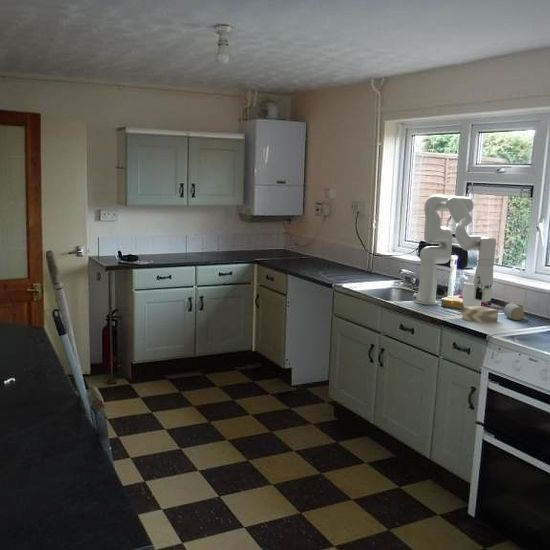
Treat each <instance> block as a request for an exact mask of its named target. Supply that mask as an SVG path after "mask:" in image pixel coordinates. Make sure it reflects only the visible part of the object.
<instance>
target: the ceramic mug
mask: <svg viewBox="0 0 550 550" xmlns="http://www.w3.org/2000/svg"><path fill="white" fill-rule="evenodd" d="M503 313H504V315H505V316H506V318H509V319H511V320H513V321H520V320H522V319H523V320H525V321H527V319H528V317H527V316H526V315H525V310H524V309H523V308H522V307H521V306H520V305H517V304H516V303H514V302H510V303H507V304H506V305H505V306H504V308H503Z"/></svg>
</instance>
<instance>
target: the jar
mask: <svg viewBox="0 0 550 550" xmlns="http://www.w3.org/2000/svg"><path fill="white" fill-rule="evenodd" d="M480 285H481V284H480ZM474 288H475V286H474V281H464V282H463V289H462V305H463V307H468V306H476V305H478V306H482V301H478V300H473V297H474Z"/></svg>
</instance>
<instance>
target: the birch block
mask: <svg viewBox="0 0 550 550" xmlns="http://www.w3.org/2000/svg"><path fill="white" fill-rule="evenodd" d="M498 318H499V309H495V308H490V307H487V306H482V305H480V306H478V305H476V306H468V307H464V306H463V307H462V315H461V319H464V320H467V321H472V322H475V323H478V324H479V323H480V324H488V323H489V324H490V323H496V322H498Z"/></svg>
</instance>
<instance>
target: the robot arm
mask: <svg viewBox="0 0 550 550" xmlns="http://www.w3.org/2000/svg"><path fill="white" fill-rule="evenodd" d="M423 208H424V210H423V211H424V216H425V217H424V218H425V219H424V231H423V236H424V237H423V239H424V242H425V243H427V244H430V246H425V247H423V248H422V249H421V250H420V253H419V260H420V273H419V283H418V292H417V293H416V292H414V293H413V294H412V297H414V298H415V299H414V302H415V303H417V304H420V305H427V306H428V305H429V306H436V305H438V304H439V301H438V300H436V298H437V287H438V278H439V277H438V276H439V271H438V268H437V265H436V264H446V263H449V261H450V260H451V258H452V248H453V232H452V230H451V229H450V228H449V227H447V226H442V217H441V215H440V213H439V211H440V212H449V215H450V216H451V217H452V218H451V219H452V220H453V222H454V223H455V225H456V226H455V229H454V236H455V239H456V241H457V243H458V245H459V246H460V248H461V249H462V250H464V251H473V252H474V251H476V252H478V257H477V265H476V269H475V272H474V279H473V282H474V286H475V289H476V290H475V291H476V296H475V299H478V300H482V292H481V291H482V288H483V287H485V288H490V289H492V286H493V284H494V282H493V281H494V265H495V257H496V256H495V255H496V246H497V240H496V238H494V237H487V236H484V235H472V234H471V235H469V234H468V232H467V230H466V229H465V228H466V227H468V226H469V225H470V224H471V223H472V221H473V216H472V214H471V212H472V211H473V210H474V202H473V200H472V199H471V198H470V197H468V196H460V195H459V196H458V195H450V194H449V195H447V194H433V195H430V196H428V198H427V199H426V200H425V202H424V207H423ZM431 244H433V245H431ZM434 245H435V246H434ZM436 245H437V246H436ZM480 284H481V285H480Z"/></svg>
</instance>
